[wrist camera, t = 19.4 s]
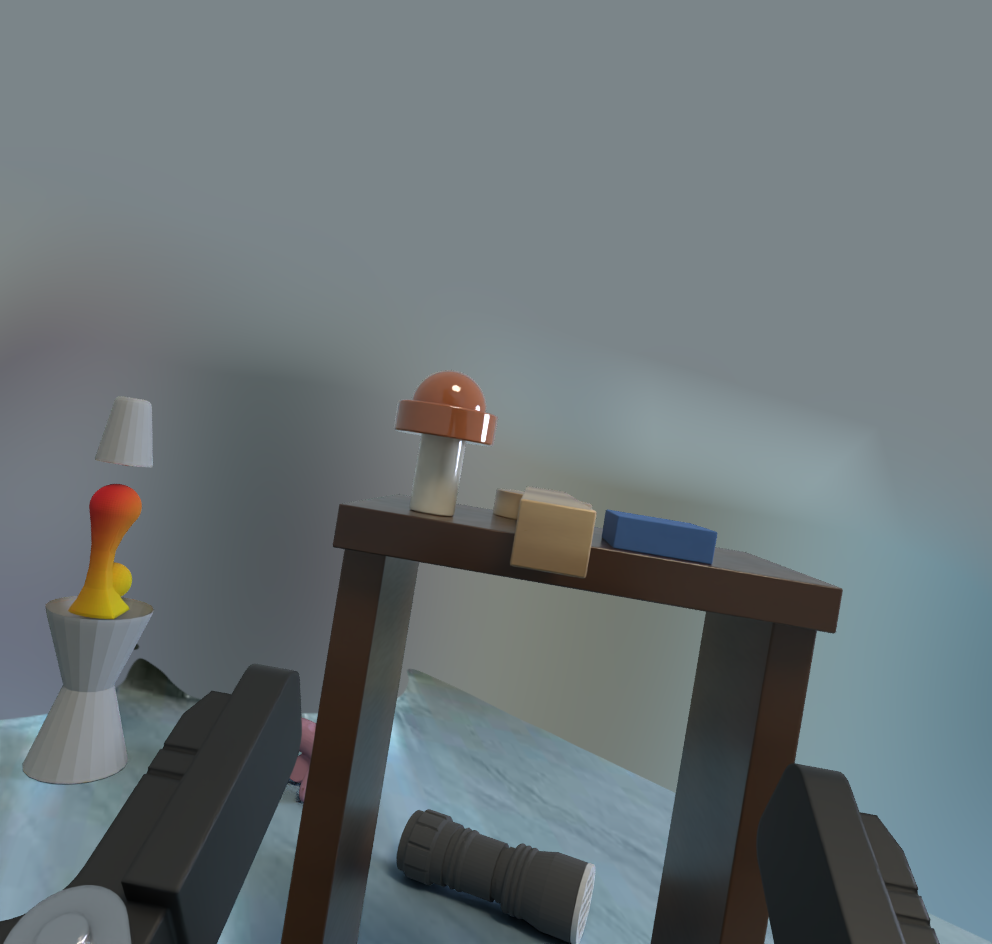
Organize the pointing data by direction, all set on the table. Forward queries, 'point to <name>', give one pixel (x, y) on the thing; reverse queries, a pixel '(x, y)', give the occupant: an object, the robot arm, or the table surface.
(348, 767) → the stool
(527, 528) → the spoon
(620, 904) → the table surface
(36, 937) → the robot arm
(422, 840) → the flashlight
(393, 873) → the table surface
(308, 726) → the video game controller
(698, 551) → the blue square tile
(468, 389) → the mushroom
